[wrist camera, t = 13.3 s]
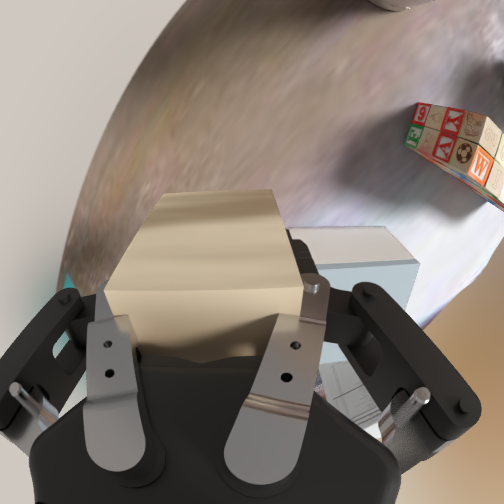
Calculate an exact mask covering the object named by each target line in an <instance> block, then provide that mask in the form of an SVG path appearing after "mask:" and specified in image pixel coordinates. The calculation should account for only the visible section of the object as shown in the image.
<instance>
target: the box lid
mask: <svg viewBox="0 0 504 504" xmlns="http://www.w3.org/2000/svg"><path fill="white" fill-rule="evenodd" d="M315 265H316V268H317V270H318V273H319V275H321V276H323V277H325V278H326V279H327V280H328V281H329V282H330V287H332V288H335V289H339V290H345V291H352V288H353V286H354V285H355V284H357V283H360V282H372V283H375V284H377V285H379V286H381V287H382V288H383V289H384V290H385V291H386V292H387V293H388V294H389V295H390V296H391V297H392V298H393V299H394V300H395V301H396V302H397V303H398V304H399V305H400V306H401V307H402V309H403V310H404V311H405V308H406V306H407V303H408V300H409V297H410V294H411V291H412V288H413V285H414V282H415V279H416V276H417V273H418V269H419V266H420V263H419V262H418V261H417V260H416V259H406V260H389V261H372V262H353V263H333V264H315ZM375 339H376V338H375ZM346 360H347V358H346V357H345V355H344V354H343V352H342V351H341V349H340V348H339V346H338V344H335V343H329V342H323V346H322V352H321V358H320V363H319V364H324V363H332V362H339V361H346Z"/></svg>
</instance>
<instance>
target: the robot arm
mask: <svg viewBox="0 0 504 504" xmlns="http://www.w3.org/2000/svg"><path fill="white" fill-rule="evenodd" d="M369 1H370V2H372V3H374V4H375V5H377V6H379V7H382V8H384V9H387V10H391V11H403V10H406V9H409V8H412V7H415V6H418V5H421V4H424V3H427V2H431V1H434V0H369ZM285 230H286V233H287V236H288V239H289V242H290V245H291V248H292V251H293V254H294V257H295V260H296V263H297V267H298V270H299V273H300V276H301V279H302V282H303V286H304V289H303V297H302V304H301V311H300V316H297V315H291V314H284V313H279V316H278V318H277V321H276V324H275V327H274V330H273V332H272V335H271V338H270V341H269V343H268V346H267V349H266V352H265V354H264V355H260V356H233V357H228V358H224V359H219V360H215V361H210V362H205V363H197V362H193V361H189V360H184V359H180V358H177V357H173V356H161V355H145V354H144V352H143V350H142V347H141V345H140V343H139V340H138V338H137V335H136V333H135V331H134V328H133V326H132V323H131V321H130V318H129V315H128V314H127V315H121V316H117V317H114V315H113V313H112V311H111V308H110V306H109V303H108V301H107V298H106V296H105V293H104V288H105V287H106V285H107V283H108V281H109V280H106V281H104V282H103V283H102V284H101V285H100V286H99V287H98V288H97V292H96V294H94V295H89V296H85V297H81V296H80V294H79V291H78V290H77V289H75V288H66V289H63V290H61V291H59V292H57V293H56V294H55V295H54V296H53V297H52V298H51V300H50V301H48V303H47V304H46V305H45V306H44V307H43V308H42V309H41V310H40V312H38V314H37V315H36V316H35V317H34V318H33V319H32V320H31V322H30V323H29V324H28V325H27V326H26V327H25V329H24V330H23V331H22V332H21V333H20V335H19V336H18V337H17V338H16V340H15V341H14V342H13V343H12V345H11V346H10V347H9V348H8V349H7V351H6V352H5V353H4V355H3V356H2V357H1V359H0V434H1V435H2V436H4V437H5V438H6V439H7V440H9V441H10V442H12V443H14V444H15V445H16V446H17V447H19V448H20V449H21V450H22V451H23V452H24V453H25V454H26V455H28V456H29V467H30V472H31V477H32V481H33V487H34V495H35V504H395V501H396V498H397V495H398V492H399V489H400V484H401V474H403V473H404V472H406V471H407V470H409V469H410V468H412V467H413V466H415V465H416V464H418V463H419V462H420V461H424V460H427V459H429V458H431V457H432V456H434V455H435V454H437V453H438V452H439V451H441V450H442V449H443V448H445V447H447V446H448V445H449V444H450V443H452V442H453V441H454V440H456V439H457V438H459V437H460V436H461V435H462V434H463V433H465V432H466V431H467V430H469V429H470V428H471V427H472V426H473V425H475V424H476V423H477V421H478V420H479V418H480V416H481V403H480V400H479V398H478V397H477V395H476V394H475V393H474V392H473V390H472V389H471V387H470V386H469V385H468V384H467V382H466V381H465V380H464V379H463V377H462V376H461V375H460V374H459V372H458V371H457V370H456V369H455V368H454V366H453V365H452V364H451V363H450V362H449V361H448V359H447V358H446V357H445V356H444V355H443V354H442V352H441V351H440V350H439V349H438V347H437V346H436V345H435V344H434V343H433V342H432V341H431V339H430V338H429V337H428V336H427V335H426V334H425V333H424V332H423V330H422V329H421V328H420V327H419V326H418V325H417V324H416V323H415V322H414V320H413V319H412V318H411V317H410V316H409V315H408V314H407V313H406V312H405V311H404V310H403V309H402V307H401V306H400V305H399V304H398V303H397V302H396V301H395V300H394V299H393V298H392V297H391V296H390V295H389V294H388V293H387V292H386V291H385V290H384V289H383V288H382V287H381V286H379V285H377V284H375V283H372V282H360V283H357V284H355V285H354V286H353V288H352V291H345V290H339V289H335V288H332V287H330V282H329V281H328V280H327V279H326V278H325V277H323V276H321V275H319V273H318V270H317V268H316V265H315V263H314V260H313V258H312V256H311V253H310V251H309V248H308V246H307V244H305V243H304V242H303V241H302V240H301V239H292V237H291V234H290V231H289V229H285ZM64 331H65V332H66V333H67V335H68V337H69V339H70V340H69V341H68V342H67V344H66V345H65V346H64V348H63V349H62V350H61V352H60V353H59V354H58V356H57V357H56V359H55V358H54V356H53V352H52V351H53V346H54V344H55V343H56V342H57V340H58V339H59V338H60V337H61V335H62V334H63V333H64ZM375 338H376V339H375ZM323 342H329V343H335V344H338V346H339V348H340V349H341V351H342V352H343V354H344V355H345V357H346V358H347V360H348V361H349V363H350V365H351V366H352V368H353V369H354V371H355V372H356V374H357V375H358V377H359V378H360V380H361V382H362V383H363V385H364V386H365V388H366V389H367V391H368V392H369V394H370V395H371V397H372V399H373V400H374V402H375V403H376V405H377V406H378V408H379V410H380V411H381V415H380V416H379V419H378V427H379V430H380V433H381V436H382V443H381V442H380V441H378V440H377V439H376V438H374V437H373V436H372V435H370V434H369V433H367V432H366V431H365V430H363V429H362V428H361V427H359V426H358V425H357V424H356V423H354V422H353V421H352V420H350V419H349V418H348V417H346V416H345V415H344V414H343V413H341V412H340V411H339V410H337V409H336V408H335V407H334V406H332V405H331V404H330V403H329V402H327V401H326V400H325V399H324V398H322V397H321V396H320V395H319V394H318V393H316V392H315V391H314V388H315V383H316V378H317V373H318V368H319V363H320V358H321V352H322V346H323ZM85 370H86V378H87V379H86V380H87V397H85V398H84V399H83V400H82V401H80V402H79V403H78V404H77V405H75V406H74V407H73V408H72V409H70V410H69V411H68V412H67V413H65V414H64V415H63V416H62V417H61V418H59V416H58V415H59V413H60V411H61V410H62V408H63V406H64V405H65V403H66V401H67V400H68V398H69V396H70V395H71V393H72V391H73V390H74V388H75V387H76V385H77V383H78V381H79V380H80V379H81V377H82V375H83V374H84V372H85Z"/></svg>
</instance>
